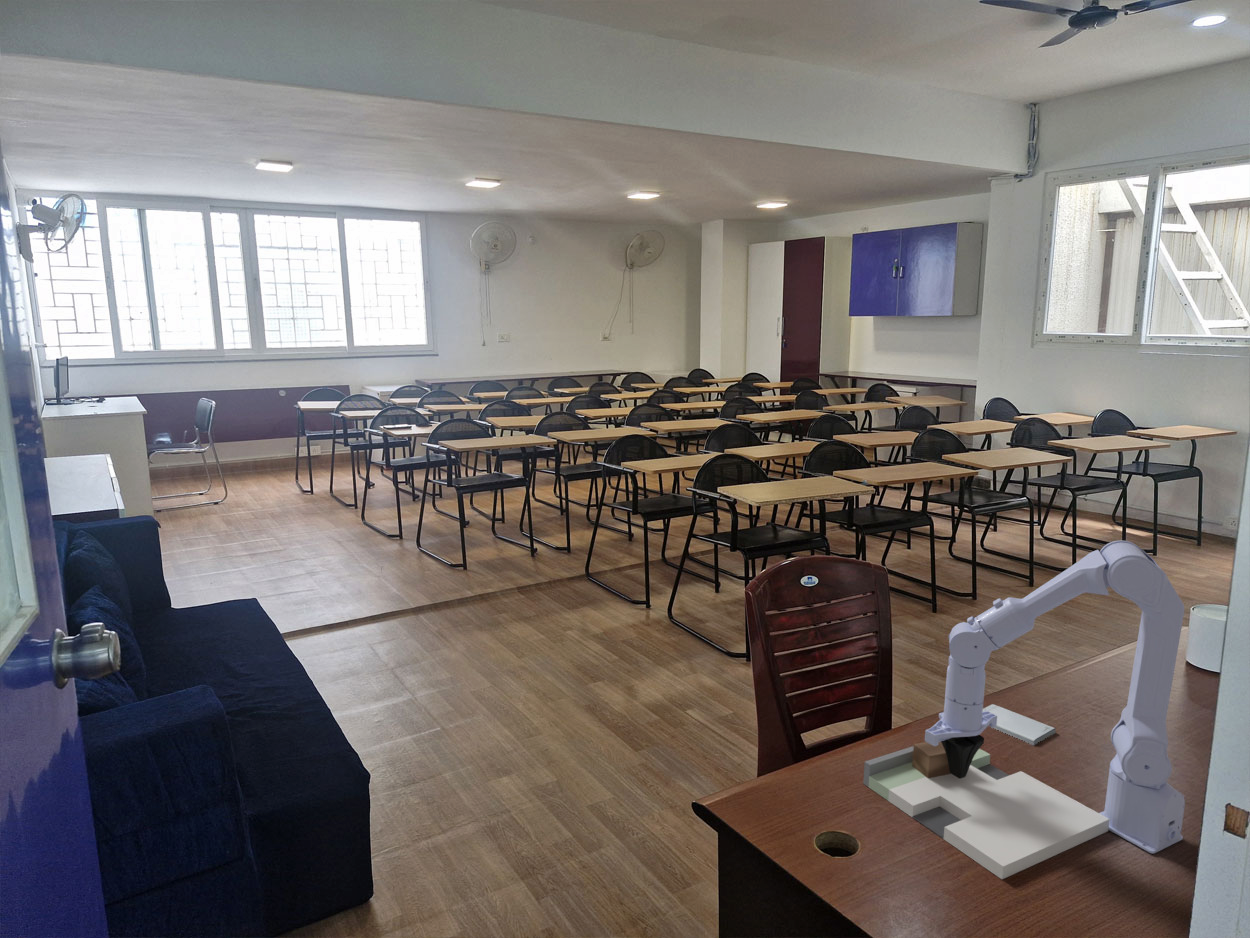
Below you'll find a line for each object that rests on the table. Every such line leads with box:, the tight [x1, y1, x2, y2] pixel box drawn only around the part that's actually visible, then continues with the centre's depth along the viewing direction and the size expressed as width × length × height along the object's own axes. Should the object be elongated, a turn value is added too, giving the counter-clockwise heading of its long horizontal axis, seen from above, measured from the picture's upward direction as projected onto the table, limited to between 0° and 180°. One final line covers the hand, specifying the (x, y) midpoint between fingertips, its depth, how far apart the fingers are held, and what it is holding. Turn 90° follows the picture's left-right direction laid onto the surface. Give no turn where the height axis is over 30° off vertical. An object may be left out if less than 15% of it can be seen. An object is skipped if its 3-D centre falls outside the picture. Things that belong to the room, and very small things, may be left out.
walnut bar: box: [912, 741, 951, 778], centre depth 134 cm, size 4×8×4 cm, turn 108°
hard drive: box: [983, 703, 1056, 746], centre depth 154 cm, size 2×8×12 cm
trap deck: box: [862, 745, 1110, 880], centre depth 127 cm, size 27×24×4 cm
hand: (957, 774), depth 131 cm, fingers closed
